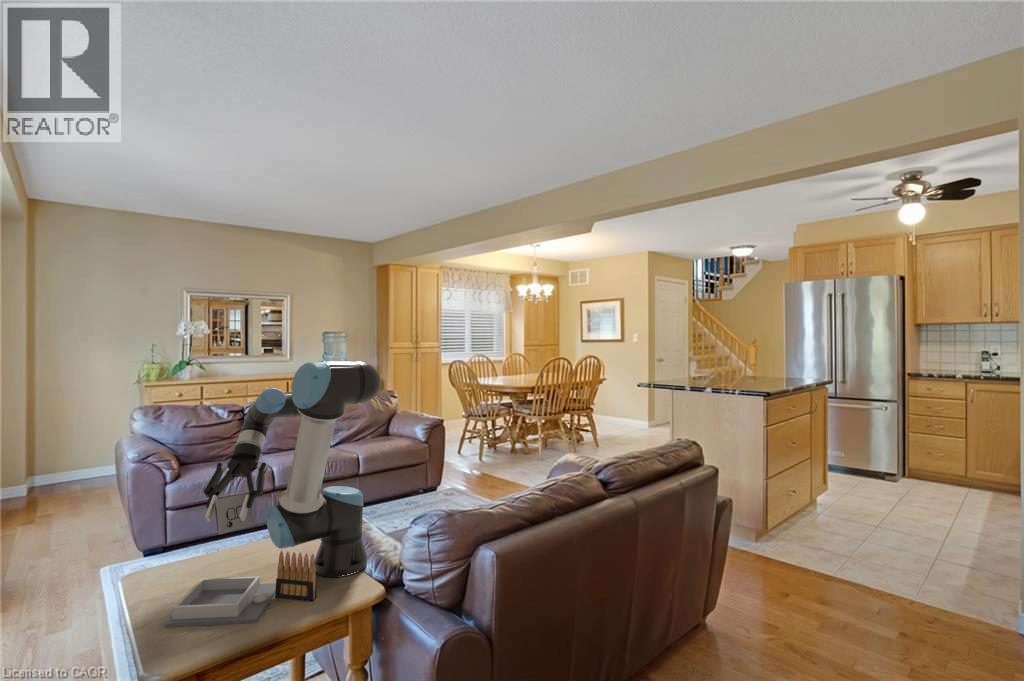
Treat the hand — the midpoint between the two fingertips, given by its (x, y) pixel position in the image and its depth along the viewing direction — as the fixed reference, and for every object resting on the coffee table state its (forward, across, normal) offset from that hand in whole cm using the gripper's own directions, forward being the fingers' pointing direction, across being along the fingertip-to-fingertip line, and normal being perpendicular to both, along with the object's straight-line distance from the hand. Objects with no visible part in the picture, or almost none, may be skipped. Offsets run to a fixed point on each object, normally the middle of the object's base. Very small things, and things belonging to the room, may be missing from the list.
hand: (225, 518), depth 139 cm
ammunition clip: (+20, -22, -5) cm, 30 cm away
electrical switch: (+1, -1, -5) cm, 5 cm away
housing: (+21, -6, -4) cm, 22 cm away
